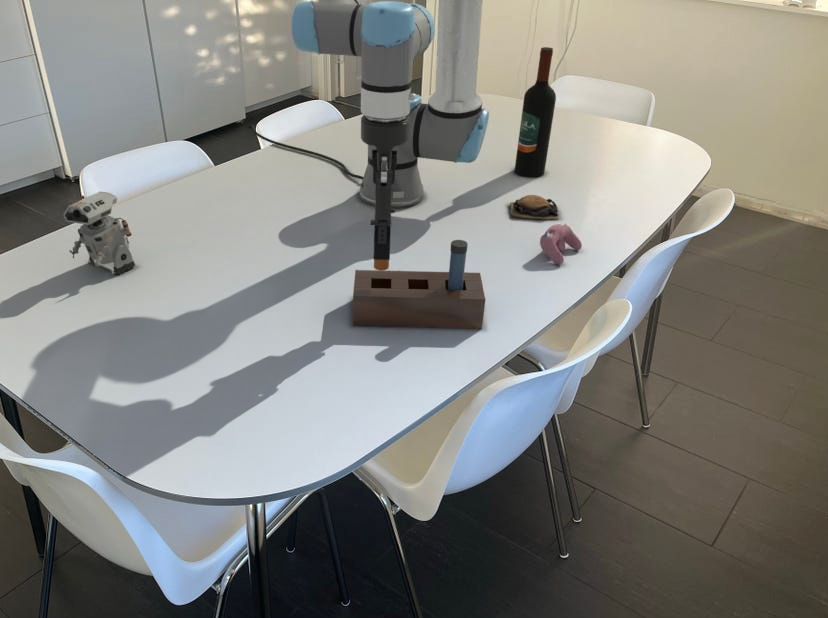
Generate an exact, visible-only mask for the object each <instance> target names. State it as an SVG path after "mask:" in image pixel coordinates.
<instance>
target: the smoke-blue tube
mask: <svg viewBox="0 0 828 618" xmlns="http://www.w3.org/2000/svg"><path fill="white" fill-rule="evenodd" d="M467 252H468V242H467V241H466V240H463V239H454V240H452V241H451V242H450V255H449V256H450V257H449V268H448V272H449V279H448V290H463V280H464V272H465V268H466V258H467Z"/></svg>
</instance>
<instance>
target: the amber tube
mask: <svg viewBox="0 0 828 618" xmlns="http://www.w3.org/2000/svg"><path fill="white" fill-rule="evenodd" d="M391 199H392V189H391ZM375 207H376V189H375V206H374V208H375ZM390 219H391V220H392V216H391V217H390ZM373 268H374V270H378V271H388V269H389V268H390V260H377V259H374V258H373Z"/></svg>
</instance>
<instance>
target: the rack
mask: <svg viewBox="0 0 828 618" xmlns="http://www.w3.org/2000/svg"><path fill="white" fill-rule="evenodd" d="M448 279H449V271H423V270H422V271H421V270H420V271H419V270H418V271H417V270H416V271H415V270H376V269H374V270H371V269H370V270H369V269H355V271H354V282H353V292H352V326H353V327H382V328H383V327H386V328H421V329H422V328H423V329H424V328H426V329H427V328H428V329H433V328H434V329H460V330H461V329H466V330H483V324H484V316H485V306H486V295H485V290H484V284H483V280H482V275H481V272H465V271H464V280H463V290H448Z"/></svg>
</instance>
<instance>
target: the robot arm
mask: <svg viewBox="0 0 828 618" xmlns="http://www.w3.org/2000/svg"><path fill="white" fill-rule="evenodd" d="M372 1H373V0H318V1H314V0H309V1H307V0H305V1H301V2H298V3H297V4H296V5H295V6H294V9H293V12H292V15H291V22H290V23H291V25H290V26H291V27H290V28H291V29H290V30H291V36H292V41H293V44H294V46H295V47H296V48H297V49H298V50H299V51H302V52H306V53H307V52H308V53H314V54H317V55H334V56H349V57H351V56H352V57H358V58H361V82H360V83H361V85H360V113H361V115H362V116H361V117H360V139H361V141H362V142H363V143H364V144H365V145H367V165H366V168H365V171H364V175H363V176H362V175H359V174H355V173H352V172H351V171H349V170H348V168H347V166H346V165H345V164H344V163H342V162H341V161H339V160H337V159H335V158H332V157H330V156H328V155H325V154H322V153H319V152H315V151H312V150H309V149H304V148H301V147H296V146H293V145H289V144H285V143H283V142H282V143H281V142H278V141H275V140H272V139H270V138H268V137H266V136H264V135H262V134H260V133H258V131H256V129H255V126H254V125H253V124H249V125H248V129H251V130H252V132H253V134H255V135H256V136H257V137H258V138H259V139H262V140H264V141H265V142H269V143H271V144H274V145H277V146H280V147H283V148H287V149H289V150H290V149H291V150H294V151H299V152H303V153H306V154H309V155H314V156H317V157H320V158H323V159H326V160H328V161H331V162H333V163H335V164H337V165H339V166H340V167H341V168H342V169H343V171H344V172H345V173H346V174H347V175H348V176H349V177H352V178H355V179H356V178H357V179H359V180H361V183H360V186H359V197H360V198H359V199H361V200H362V202H364V203H366V204H368V205H370V206H373V207H374V219H371V220H370V226H374V227H373V231H374V232H373V260H374V259H377V260H389V261H391V232H392V231H391V229H392V214H393V213H395V212H396V209H402V208H409V207H412V206H414V205H417V204H420V202H422V200H424V193H425V192H424V191H425V190H424V184H423V183H422V179H421V174H420V170H419V166H418V165H419V164H418V163H419V162H418V160H419V159H427V160H436V161H442V162H443V161H444V162H450V163H451V162H452V163H455V164H457V163H465V164H470V163H473V162H475V161H476V160H477V158H479V157H478V156H479V154H480V152H481V149H482V146H483V143H484V139H485V136H486V132H487V128H488V124H489V118H490V111H489V110H488V109H486V108H483V99H482V97H481V96H480V95H479V94H478V92H477V81H478V68H479V56H480V55H479V54H480V39H481V27H482V14H483V13H482V12H483V1H484V0H438V10H437V12H438V14H437V38H436V39H437V40H436V41H437V42H436V67H435V69H436V70H435V92H433V93H432V94H431V95H430V96H429V98H428V100H427V103H422V102H423V101H422V100H423V99H422V97H421V95H420V94H418V93H417V94H416V93H414V92H412V81H413V80H412V79H413V65H414V60H415V59H416V58H418V57H419V56H422V55H423V54H424V53H425V52H426V51H427V50H428V48H429V46H430V45H431V43H432V42H433V40H434V37H435V34H436V33H435V32H436V25H435V21H434V17H433V15H432V13H431V12H430V11H429V10H428V9H427V8H426V7H425V6H423V5H422V4H418V3H408V2H403V1H395V0H383V1H382V0H381V1H376V2H372ZM375 189H376V207H375ZM391 189H392V199H391ZM390 217H391V219H390Z"/></svg>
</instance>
